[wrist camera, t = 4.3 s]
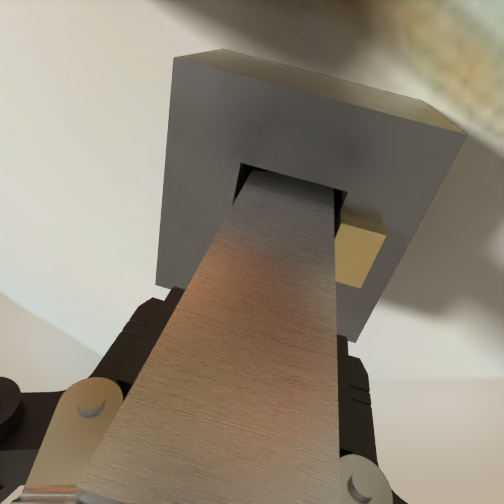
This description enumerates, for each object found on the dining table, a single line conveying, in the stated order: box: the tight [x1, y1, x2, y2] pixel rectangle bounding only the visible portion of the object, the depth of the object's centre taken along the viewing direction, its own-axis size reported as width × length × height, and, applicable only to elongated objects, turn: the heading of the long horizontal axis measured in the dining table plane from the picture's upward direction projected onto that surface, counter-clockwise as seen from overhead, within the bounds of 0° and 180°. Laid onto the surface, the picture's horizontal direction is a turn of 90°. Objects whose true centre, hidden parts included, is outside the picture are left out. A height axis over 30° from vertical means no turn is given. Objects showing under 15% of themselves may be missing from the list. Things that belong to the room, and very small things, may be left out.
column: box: [76, 166, 340, 504], centre depth 14 cm, size 4×4×18 cm
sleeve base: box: [155, 49, 467, 343], centre depth 20 cm, size 12×12×9 cm
